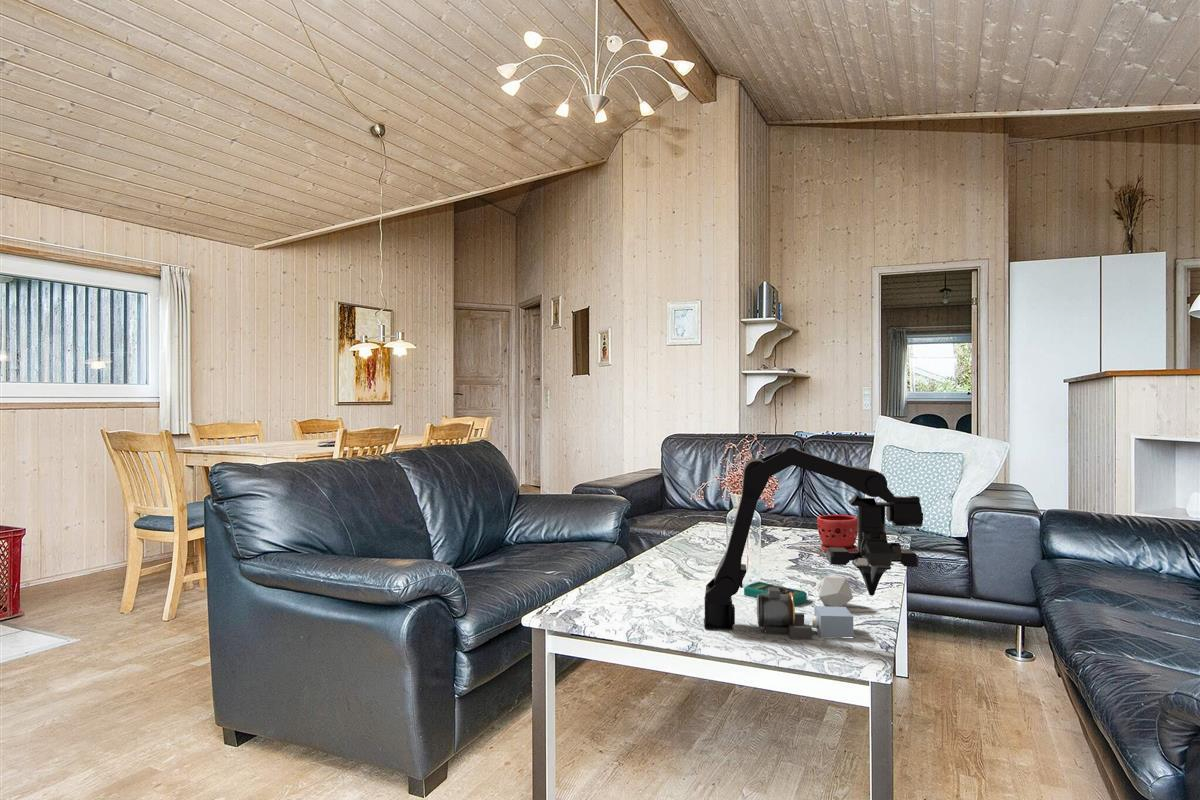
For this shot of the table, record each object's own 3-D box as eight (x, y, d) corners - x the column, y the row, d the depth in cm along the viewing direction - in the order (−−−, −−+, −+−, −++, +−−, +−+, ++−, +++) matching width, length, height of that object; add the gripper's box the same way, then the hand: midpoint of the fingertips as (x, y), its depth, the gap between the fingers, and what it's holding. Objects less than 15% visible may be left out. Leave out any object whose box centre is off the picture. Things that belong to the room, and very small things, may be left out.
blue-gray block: (816, 638, 155) (816, 615, 155) (810, 627, 162) (809, 606, 162) (853, 639, 154) (853, 616, 154) (845, 628, 161) (845, 606, 161)
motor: (760, 636, 156) (760, 594, 156) (756, 623, 164) (756, 583, 164) (795, 637, 155) (794, 595, 155) (789, 624, 163) (789, 584, 163)
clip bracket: (790, 639, 154) (790, 627, 154) (783, 622, 164) (783, 612, 164) (811, 639, 153) (811, 628, 153) (803, 623, 164) (803, 612, 164)
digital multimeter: (794, 608, 177) (794, 596, 177) (742, 596, 188) (742, 585, 188) (809, 602, 182) (809, 590, 182) (758, 590, 193) (758, 579, 193)
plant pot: (848, 547, 245) (848, 513, 245) (864, 555, 232) (864, 519, 232) (811, 548, 244) (811, 513, 244) (826, 556, 231) (826, 520, 231)
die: (826, 601, 183) (807, 574, 181) (856, 588, 180) (838, 560, 178) (830, 622, 176) (811, 594, 174) (862, 608, 173) (843, 580, 171)
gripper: (836, 531, 150) (836, 604, 150) (927, 533, 147) (927, 607, 148) (825, 522, 161) (825, 590, 161) (910, 524, 159) (910, 592, 159)
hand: (871, 595), depth 157 cm, fingers closed
